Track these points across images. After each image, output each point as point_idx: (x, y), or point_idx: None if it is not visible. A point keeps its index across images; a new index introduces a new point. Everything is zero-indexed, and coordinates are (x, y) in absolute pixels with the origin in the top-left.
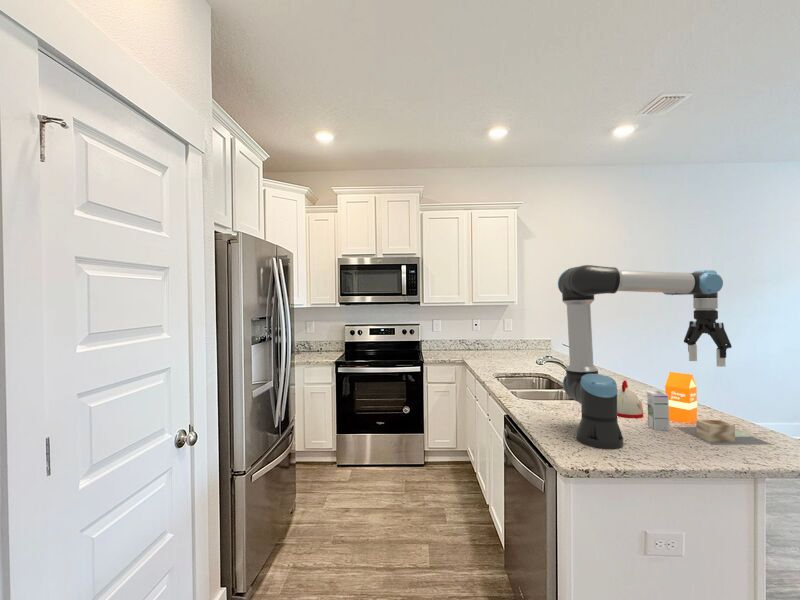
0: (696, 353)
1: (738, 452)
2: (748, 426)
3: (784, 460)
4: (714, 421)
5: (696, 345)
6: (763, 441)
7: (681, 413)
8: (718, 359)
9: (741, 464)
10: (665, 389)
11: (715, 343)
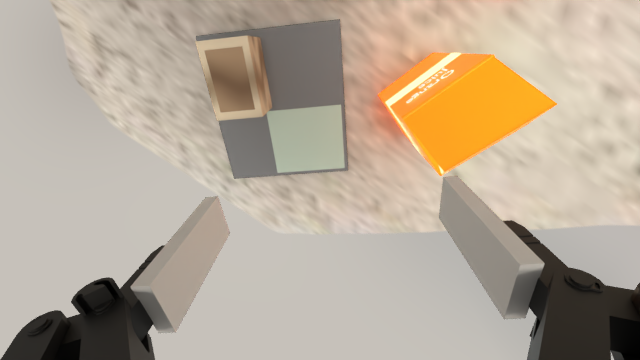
0: (462, 252)
1: (168, 73)
2: (360, 219)
3: (147, 136)
4: (240, 85)
5: (501, 314)
6: (249, 173)
7: (401, 85)
8: (184, 226)
9: (81, 22)
10: (482, 55)
11: (125, 343)
